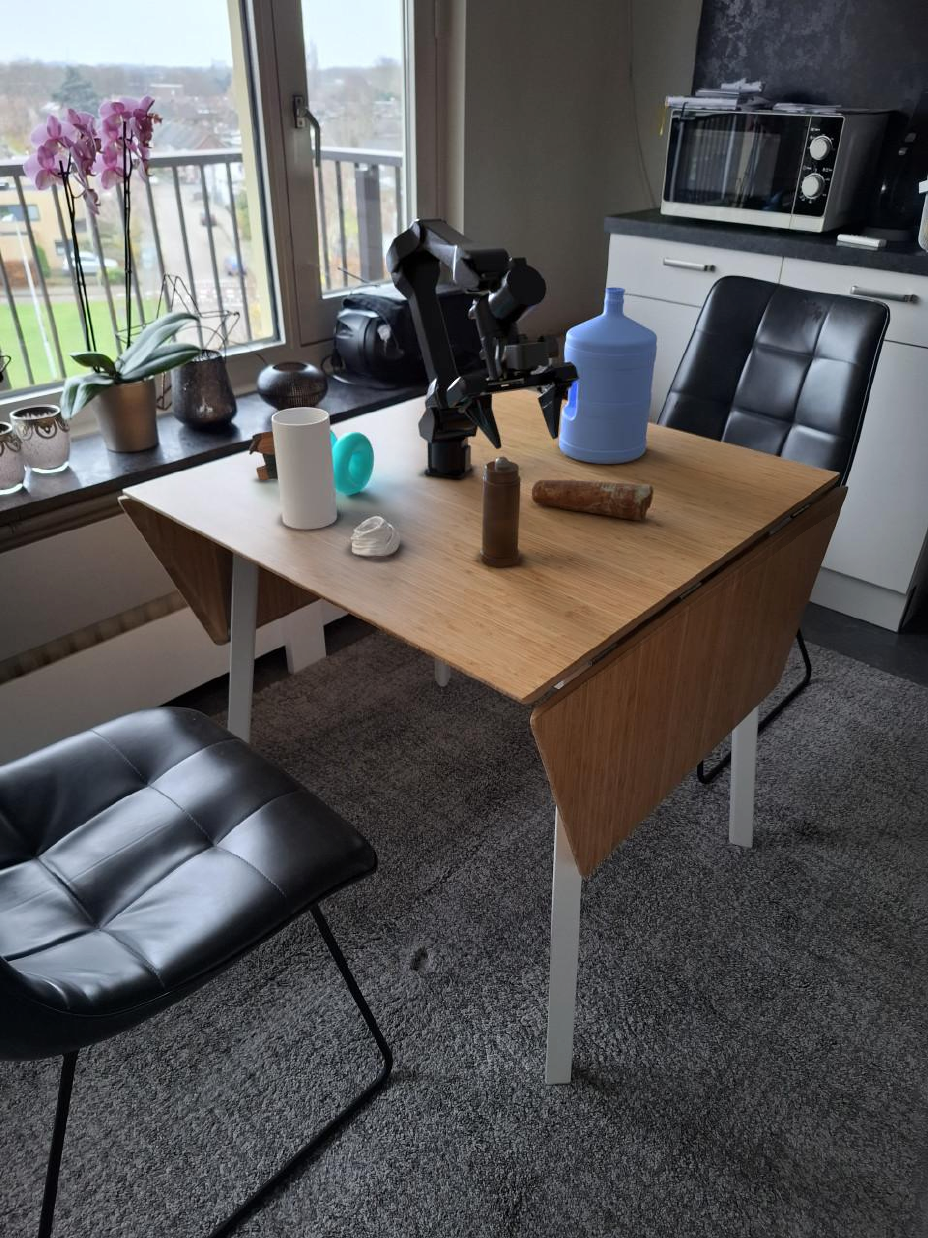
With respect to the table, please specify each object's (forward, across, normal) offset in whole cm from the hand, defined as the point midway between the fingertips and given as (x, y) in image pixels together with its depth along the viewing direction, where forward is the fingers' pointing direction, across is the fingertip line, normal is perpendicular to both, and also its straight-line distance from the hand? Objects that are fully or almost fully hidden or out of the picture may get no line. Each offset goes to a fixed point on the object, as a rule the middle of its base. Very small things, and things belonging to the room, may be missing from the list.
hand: (527, 443), depth 124 cm
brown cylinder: (+11, +12, +8) cm, 18 cm away
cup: (+1, -27, +22) cm, 35 cm away
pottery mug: (-10, -26, +39) cm, 48 cm away
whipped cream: (+9, -23, +10) cm, 27 cm away
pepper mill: (+15, -8, +2) cm, 17 cm away
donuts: (-4, -20, +30) cm, 36 cm away
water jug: (-2, +30, +27) cm, 40 cm away
